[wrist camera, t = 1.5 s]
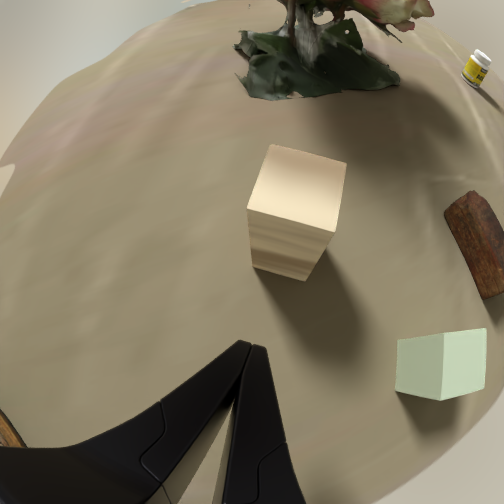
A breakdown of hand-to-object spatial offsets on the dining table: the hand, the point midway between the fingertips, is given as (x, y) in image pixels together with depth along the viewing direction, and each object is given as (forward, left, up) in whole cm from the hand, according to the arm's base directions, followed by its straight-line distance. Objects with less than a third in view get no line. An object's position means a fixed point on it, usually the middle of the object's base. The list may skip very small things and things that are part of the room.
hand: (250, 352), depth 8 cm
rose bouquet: (+42, +9, -14) cm, 46 cm away
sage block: (+4, -14, -14) cm, 20 cm away
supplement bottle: (+61, -23, -14) cm, 66 cm away
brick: (+17, -18, -14) cm, 28 cm away
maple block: (+9, +1, -14) cm, 16 cm away
